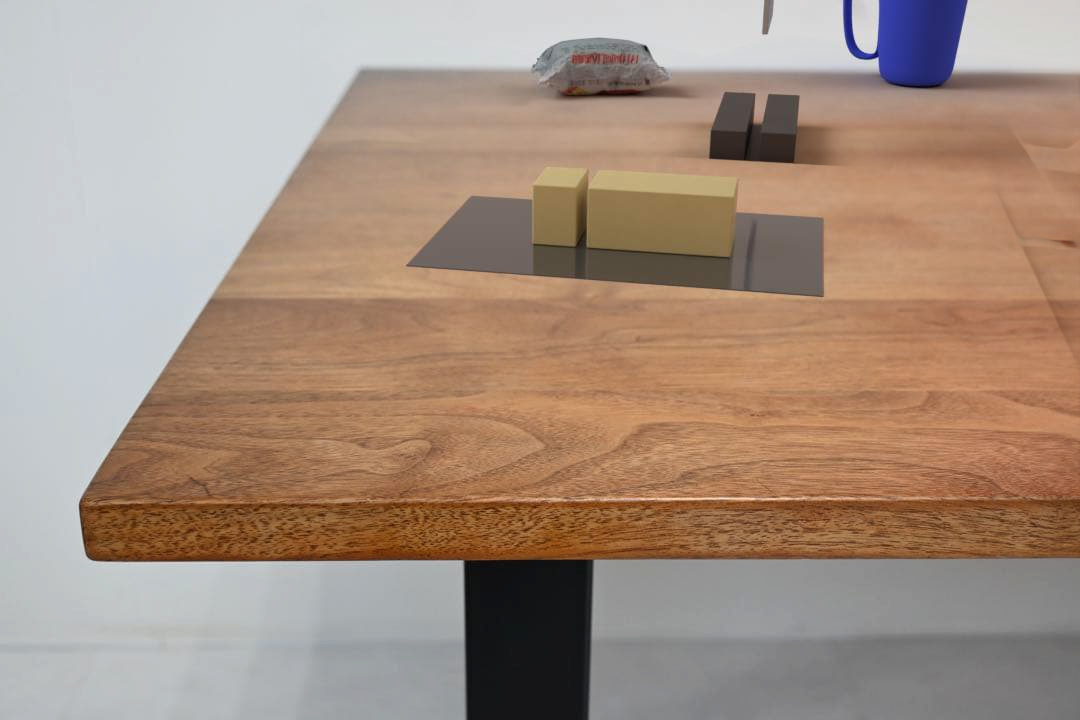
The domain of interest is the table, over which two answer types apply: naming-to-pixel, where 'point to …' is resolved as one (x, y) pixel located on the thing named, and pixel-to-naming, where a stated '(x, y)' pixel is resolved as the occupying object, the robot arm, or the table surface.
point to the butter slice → (560, 206)
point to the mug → (913, 39)
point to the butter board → (630, 252)
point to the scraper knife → (767, 15)
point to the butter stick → (662, 213)
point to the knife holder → (755, 129)
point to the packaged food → (599, 67)
